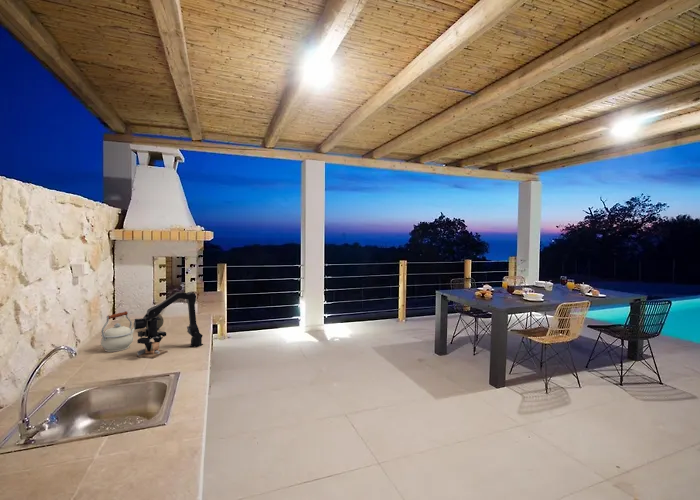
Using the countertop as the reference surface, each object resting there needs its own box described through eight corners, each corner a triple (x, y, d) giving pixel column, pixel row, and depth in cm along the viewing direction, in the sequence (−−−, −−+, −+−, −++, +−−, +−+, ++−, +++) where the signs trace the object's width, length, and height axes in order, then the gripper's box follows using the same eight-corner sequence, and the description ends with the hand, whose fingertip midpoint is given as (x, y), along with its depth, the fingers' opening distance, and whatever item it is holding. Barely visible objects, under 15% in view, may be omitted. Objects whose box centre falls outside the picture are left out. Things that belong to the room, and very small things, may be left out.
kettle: (113, 355, 209) (113, 317, 209) (91, 352, 213) (91, 315, 212) (145, 343, 234) (145, 310, 233) (124, 341, 237) (124, 308, 237)
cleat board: (167, 352, 218) (167, 347, 218) (153, 358, 205) (153, 353, 205) (152, 350, 220) (152, 345, 220) (137, 356, 208) (137, 351, 208)
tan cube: (159, 351, 215) (159, 342, 214) (152, 353, 210) (152, 344, 209) (151, 350, 216) (151, 341, 216) (145, 353, 211) (145, 344, 211)
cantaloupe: (145, 329, 269) (145, 311, 269) (164, 327, 275) (164, 310, 275) (142, 333, 256) (142, 315, 256) (162, 332, 262) (162, 314, 262)
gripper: (153, 322, 223) (153, 344, 223) (130, 329, 205) (130, 353, 205) (166, 323, 221) (166, 345, 221) (144, 331, 202) (144, 355, 203)
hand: (152, 349), depth 213 cm, fingers closed on tan cube, 5 cm apart
